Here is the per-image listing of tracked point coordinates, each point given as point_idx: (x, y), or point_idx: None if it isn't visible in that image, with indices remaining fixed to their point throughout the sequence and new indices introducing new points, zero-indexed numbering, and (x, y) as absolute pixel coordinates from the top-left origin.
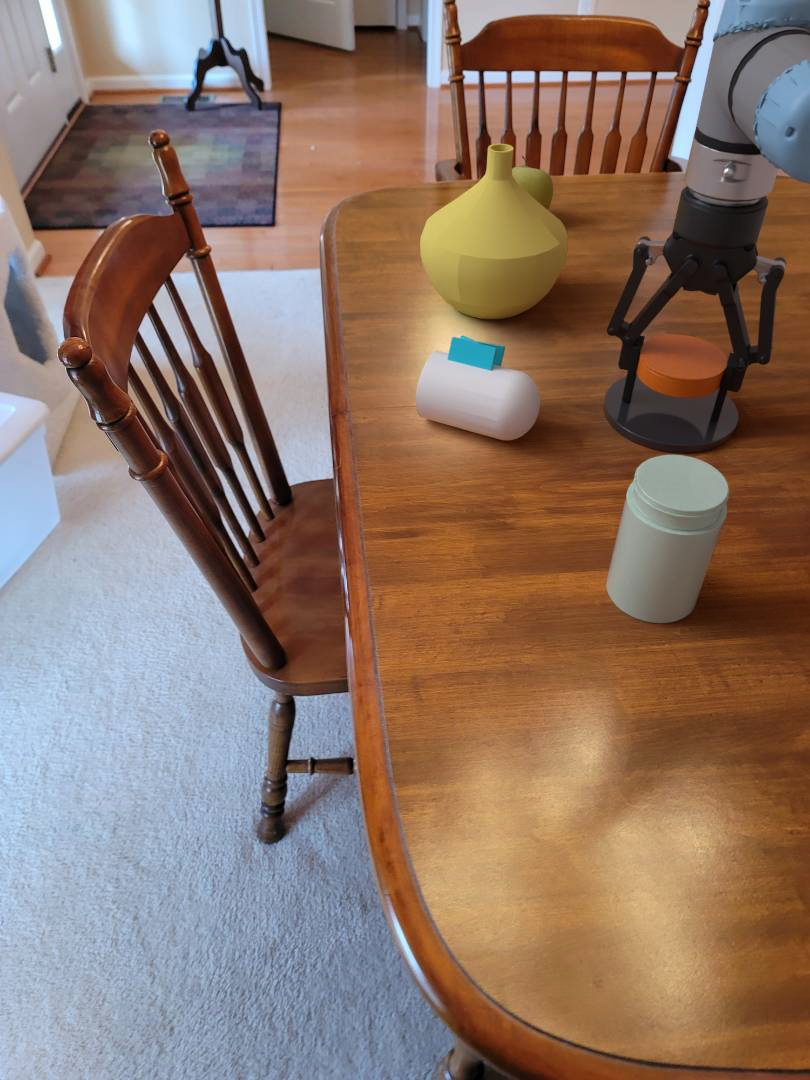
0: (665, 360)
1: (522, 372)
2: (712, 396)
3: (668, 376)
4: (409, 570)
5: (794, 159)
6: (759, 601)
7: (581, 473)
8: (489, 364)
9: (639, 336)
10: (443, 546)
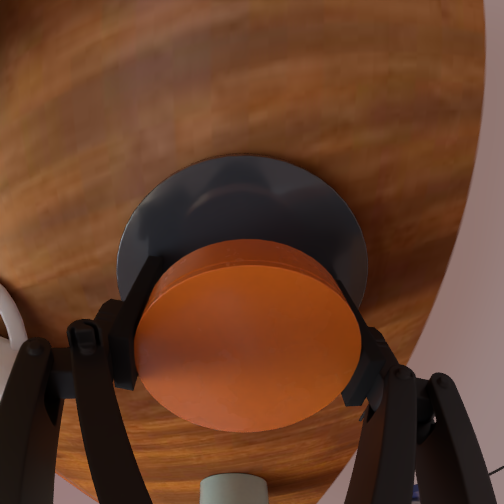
0: (203, 392)
1: None
2: (330, 237)
3: (216, 429)
4: (76, 474)
5: None
6: (312, 477)
7: (141, 412)
8: None
9: (114, 340)
10: (81, 465)
